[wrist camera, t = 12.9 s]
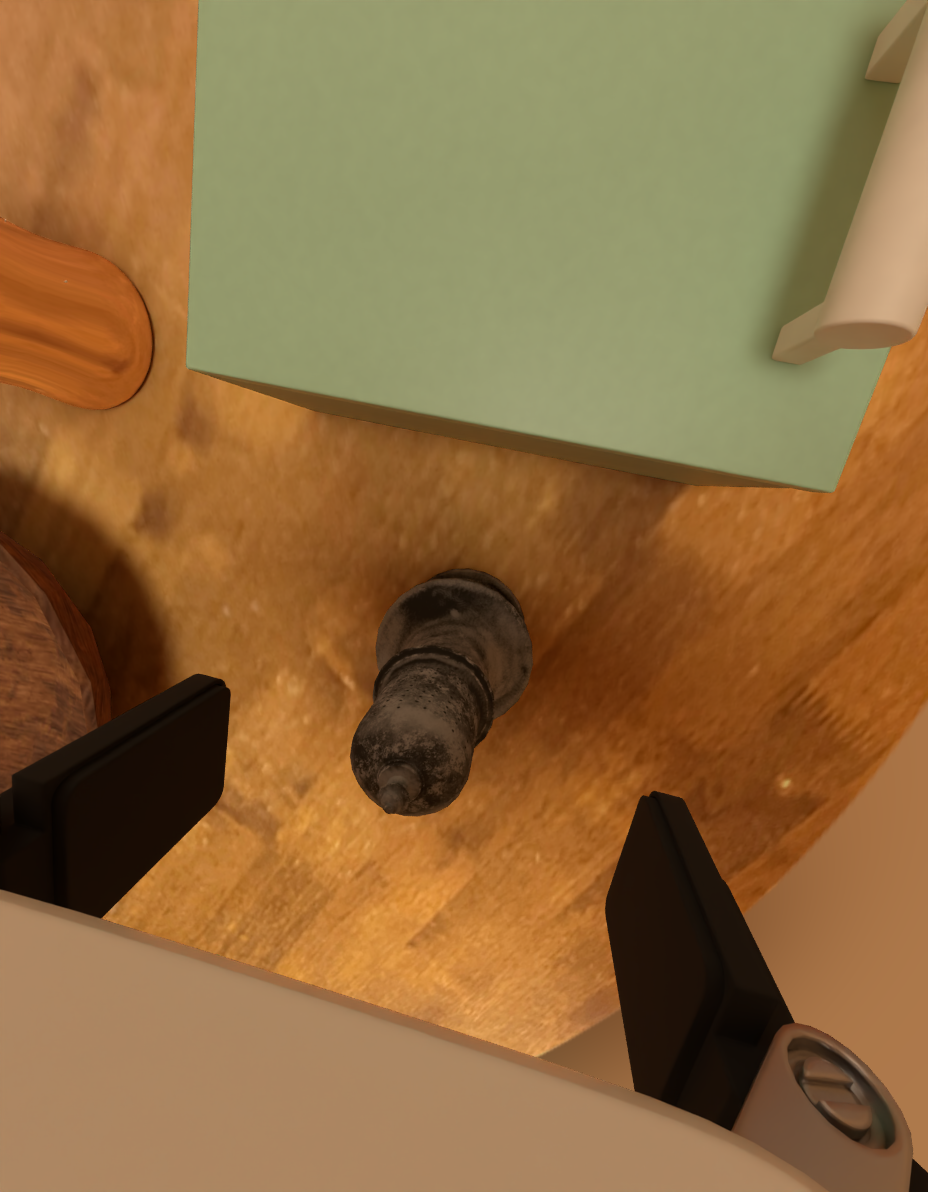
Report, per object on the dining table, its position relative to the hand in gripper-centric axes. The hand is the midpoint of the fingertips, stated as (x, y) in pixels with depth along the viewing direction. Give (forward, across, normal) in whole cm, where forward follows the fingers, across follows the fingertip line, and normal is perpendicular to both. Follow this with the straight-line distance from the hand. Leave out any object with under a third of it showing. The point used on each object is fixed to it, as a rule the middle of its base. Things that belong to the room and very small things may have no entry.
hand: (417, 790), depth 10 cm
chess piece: (+11, +1, 0) cm, 11 cm away
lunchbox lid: (+4, 0, -13) cm, 14 cm away
